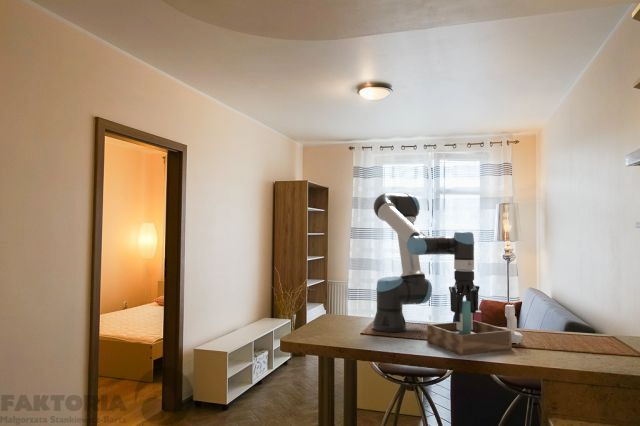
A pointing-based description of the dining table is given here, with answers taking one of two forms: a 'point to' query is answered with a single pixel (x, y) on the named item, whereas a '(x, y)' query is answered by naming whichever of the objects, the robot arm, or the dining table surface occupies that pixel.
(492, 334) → the crate
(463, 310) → the teal peg
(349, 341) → the dining table surface
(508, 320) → the figurine
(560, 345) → the dining table surface
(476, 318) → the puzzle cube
